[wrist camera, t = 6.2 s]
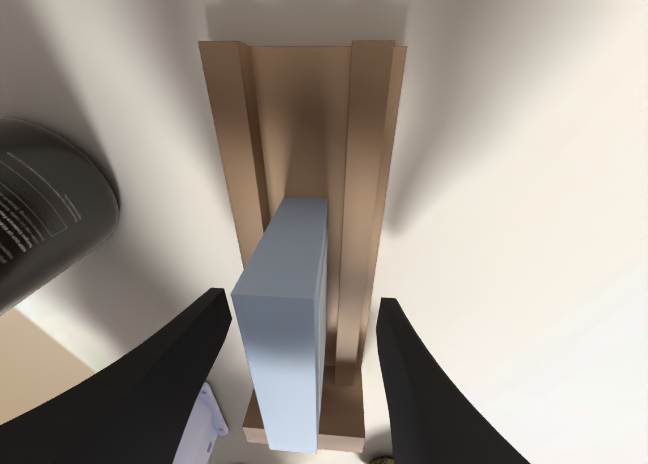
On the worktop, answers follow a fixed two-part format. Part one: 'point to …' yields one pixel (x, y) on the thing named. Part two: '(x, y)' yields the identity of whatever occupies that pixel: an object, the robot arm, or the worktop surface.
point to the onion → (383, 461)
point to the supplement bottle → (46, 208)
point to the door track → (313, 182)
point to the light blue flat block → (287, 321)
